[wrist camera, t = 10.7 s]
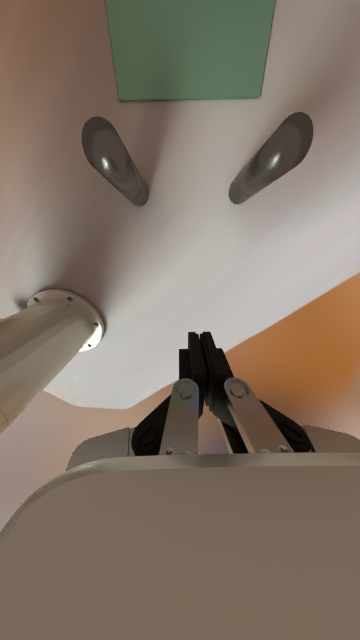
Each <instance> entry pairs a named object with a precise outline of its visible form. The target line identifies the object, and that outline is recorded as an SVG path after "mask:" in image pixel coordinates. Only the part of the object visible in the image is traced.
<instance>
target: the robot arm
mask: <svg viewBox="0 0 360 640" xmlns="http://www.w3.org/2000/svg"><path fill="white" fill-rule="evenodd" d="M103 335H104V324H103V320H102V318H101V316H100V314H99V313H98V312H97V310H96V309H95V308H94V307H93V306H92V305H91V304H90V303H89V302H88V301H86V300H85V299H84V298H82V297H80V296H79V295H77V294H75V293H72V292H70V291H66V290H62V289H48V290H44V291H41V292H38V293H36V294H34V295H33V296H32V297H31V298H30V299H29V301H28V303H27V307H26V310H23V311H21V312H18V313H16V314H14V315H11V316H9V317H6V318H4V319H0V435H1V433H2V432H3V431H4V430H5V429H6V428H7V427H8V426H9V425H10V424H11V423H12V422H13V421H14V420H15V419H16V418H17V417H18V416H19V415H20V414H21V412H22V411H23V410H24V409H25V408H26V407H27V406H28V405H29V404H30V403H31V402H32V401H33V400H34V399H35V398H36V397H37V396H38V394H39V393H40V392H41V391H42V390H43V389H44V388H45V387H46V386H47V385H48V384H49V383H50V382H51V381H52V380H53V379H54V378H55V376H56V375H57V374H58V373H59V372H60V371H61V370H62V369H63V368H64V367H65V366H66V365H67V364H68V363H69V362H70V361H71V360H72V358H73V357H74V356H75V355H76V354H77V353H78V352H79V351H86V350H89V349H92V348H93V347H95V346H96V345H97V344H98V343H99V342H100V341H101V339H102V337H103ZM204 399H205V404H206V406H209V410H210V411H213V414H214V415H215V416H216V417H217V418H218V422H219V425H220V428H221V431H222V434H223V437H224V439H225V442H226V445H227V448H228V450H229V453H230V454H201V455H198V419H199V418H200V416H201V415H202V414H203V406H204ZM0 640H360V440H359V439H357V438H355V437H354V436H351V435H349V434H346V433H342V432H337V431H332V430H328V429H323V428H318V427H314V426H310V425H305V424H302V425H301V426H300V425H298V424H297V423H295V422H294V421H293V420H291V419H290V418H288V417H286V416H285V415H283V414H282V413H280V412H278V411H277V410H275V409H274V408H272V407H271V406H269V405H268V404H266V403H264V402H263V401H261V400H260V399H258V398H257V396H256V395H255V393H254V392H253V390H252V389H251V387H250V386H249V385H248V384H247V383H246V382H245V381H243V380H241V379H239V378H235V377H234V376H233V373H232V371H231V369H230V366H229V364H228V362H227V359H226V357H225V354H224V352H223V350H222V349H221V348H216V346H215V343H214V341H213V338H212V335H211V333H210V332H203V333H202V334H200V339H199V335H198V334H196V332H188V349H179V380H178V381H177V382H176V383H175V384H174V386H173V389H172V394H171V395H170V396H169V397H168V398H166V399H165V400H164V401H163V402H162V403H161V404H160V405H159V406H158V407H157V408H156V409H155V410H154V411H152V412H151V413H150V414H149V415H148V416H147V417H146V418H145V419H144V420H143V421H142V422H141V423H140V424H139V425H138V426H137V427H134V428H131V429H130V428H129V427H128V428H124V429H121V430H117V431H114V432H110V433H107V434H103V435H100V436H96V437H93V438H89V439H88V440H85V441H83V442H82V443H81V444H80V445H79V446H78V447H77V448H76V450H75V451H74V452H73V454H72V456H71V458H70V460H69V463H68V466H67V469H66V471H65V472H64V473H62V474H60V475H58V476H56V477H54V478H53V479H51V480H50V481H48V482H47V483H45V484H44V485H42V486H41V487H40V488H39V489H37V490H36V491H35V492H34V493H33V494H31V495H30V496H29V497H28V498H27V500H26V501H25V502H24V503H23V504H22V505H21V506H20V507H19V508H18V509H17V511H16V512H15V513H14V515H13V516H12V517H11V518H10V520H9V521H8V522H7V524H6V525H5V526H4V528H3V529H2V531H1V532H0Z"/></svg>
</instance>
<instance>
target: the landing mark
mask: <svg viewBox="0 0 360 640" xmlns="http://www.w3.org/2000/svg"><path fill="white" fill-rule="evenodd" d="M105 2H106V9H107V16H108V24H109V31H110V38H111V45H112V52H113V59H114V67H115V74H116V81H117V88H118V95H119V100H120V101H157V100H202V99H247V98H260V94H261V88H262V81H263V75H264V69H265V62H266V56H267V50H268V43H269V37H270V31H271V24H272V18H273V11H274V5H275V0H105Z"/></svg>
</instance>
